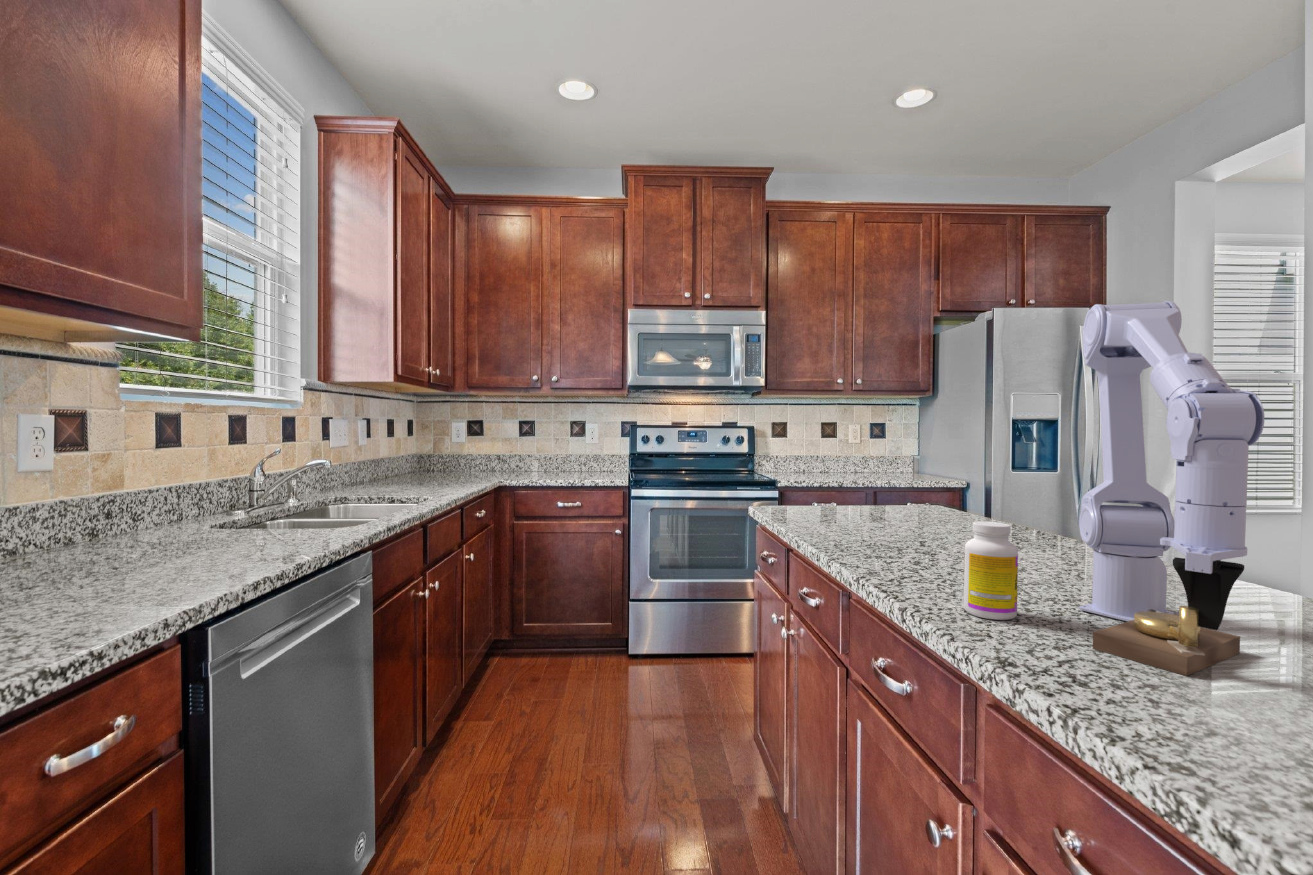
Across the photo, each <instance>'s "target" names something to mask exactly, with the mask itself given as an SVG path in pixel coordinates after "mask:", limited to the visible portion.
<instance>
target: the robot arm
mask: <svg viewBox="0 0 1313 875" xmlns="http://www.w3.org/2000/svg"><path fill="white" fill-rule="evenodd" d="M1182 320H1183V319H1182V313H1181V310H1180V307H1179V306H1178V305H1177V303H1175V302H1174V301H1172V300H1164V301H1163V302H1143V303H1142V302H1141V303H1123V304H1122V303H1120V304H1119V303H1118V304H1116V303H1115V304H1099V303H1096V304H1094V305H1093V306H1092V307H1091V308H1089V309H1088V311H1087V312H1086V315H1085V318H1084V322H1083V327H1082V345H1083V348H1082V349H1083V358H1084V362H1085V363H1084V364H1085V365H1086V367H1088V368H1091V369H1093V370H1094V371H1096V375H1097V382H1098V392H1099V393H1098V394H1099V412H1100V415H1099V416H1100V417H1099V418H1100V428H1101V429H1100V430H1101V431H1100V432H1101V434H1100V435H1101V450H1102V452H1101V453H1102V470H1103V472H1102V474H1103V482H1101V483H1100V484H1098V485H1097V486H1095V487H1093V488H1092V489H1090V490H1088V491H1087V492H1086V493H1085V494H1084V495H1083V496H1082V498H1081V502H1080V503H1081V504H1080V505H1081V506H1080V514H1079V519H1078V520H1079V521H1078V526H1079V527H1078V529H1079V534H1080V538H1081V540H1082V541H1083V542H1084V543H1085V544H1086V546H1087V547H1089V548H1090V549H1093V552H1092V553H1093V555H1092V590H1091V592H1092V594H1091V595H1092V596H1091V603H1090V602H1089V603H1087V604H1083V605H1079V606H1078V610H1080V611H1083V612H1088V613H1091V614H1096V615H1099V616H1104V617H1106V618H1107V617H1108V618H1112V619H1116V620H1121V621H1124V622H1128V621H1131V620H1134V613H1136V612H1143V611H1148V610H1149V609H1153V610H1155V611H1158V612H1162V613H1167V614H1173V615H1175V612H1174V611H1170V610H1167V588H1168V586H1167V584H1168V583H1167V582H1168V570H1167V567H1166V565H1165V563H1164V561H1163V560H1162V559H1161V558H1160V557H1164V552H1167V551H1168V550H1170V548H1173V549H1174V550H1175V551H1178V552H1179V553H1180V554H1182V555H1183V556H1185V557H1184V558H1183V557H1174V558H1173V559H1172V566H1173V568H1174V570H1175V572H1176V573H1177V575H1178V577H1179V579H1180V581H1181V583H1182V586H1183V588H1184V591H1185V596H1186V599H1187V600H1186V601H1187V606H1189V607H1194V608H1197V609H1199V621H1198V627H1202V628H1206V629H1210V630H1214V631H1219V629H1220V628H1219V627H1220V626H1221V624H1222V622H1223V620H1224V615H1225V611H1226V607H1227V602H1228V599H1229V596H1230V593H1231V590H1232V588H1233V586H1234V584H1235V582H1237V581H1238V578H1239V577H1240V576H1241V575H1242V574H1243V572H1244V571H1245V565H1244V564H1243V563H1238V562H1233V561H1224V560H1227V559H1235V558H1241V557H1245V556H1246V557H1247V555H1248V547H1247V546H1246V531H1247V530H1246V522H1247V502H1248V501H1247V500H1248V499H1247V498H1248V497H1247V496H1248V476H1249V475H1248V471H1249V470H1248V469H1249V446H1252V445H1254V444H1256V442H1258V440H1259V439H1260V437H1261V435H1262V433H1263V430H1264V428H1265V427H1264V426H1265V420H1266V419H1265V411H1264V410H1265V409H1264V407H1263V404H1262V401H1261V400H1260V399H1259V397H1258V395H1257V393H1255V392H1254V391H1250V390H1241V389H1240V388H1231V387H1230V386H1229V385H1228V383H1227V382H1226V381H1225V380H1224V378H1223V377H1222V376H1221V374H1220V373H1219V372H1218V371H1217V370H1216V368H1215V367H1214V366H1213V364H1212V363H1211V362H1210V361H1209V360H1208V359H1207V358H1206V357H1205V356H1204V355H1203V354H1202V353H1196V352H1189V351H1188V349H1187V348H1186V345H1185V344H1184V342H1183V340H1182V338H1181V337H1180V335H1179V334H1180V332H1181V328H1182ZM1151 367H1152V370H1151V371H1150V374H1149V375H1150V376H1149V381H1150V385H1151V386H1152V388H1153V389H1154V391H1155V392H1156V394H1157V396H1158V397H1159V398H1160V400H1161V402H1162V404H1163V405H1164V406H1165V408H1166V409H1167V416H1166V418H1165V424H1166V425H1165V426H1166V432H1167V435H1168V438H1169V441H1170V442H1169V443H1170V454H1171V459H1172V460H1175V461H1176V464H1175V465H1176V468H1175V471H1176V472H1175V495H1174V496H1175V501H1174V502H1175V503H1174V504H1175V506H1174V516H1173V513H1172V510H1171V504H1170V500H1169V497H1168V496H1167V495H1165V494H1164V493H1163V492H1162V491H1159V490H1158V489H1157V488H1155V487H1154V486H1152V485H1151V484H1149V483H1148V482H1147V469H1146V468H1147V467H1146V455H1145V454H1146V453H1145V452H1146V451H1145V436H1144V422H1143V420H1144V419H1143V403H1142V390H1141V389H1142V387H1141V374H1142V372H1143V370H1147V369H1148V368H1151ZM1103 503H1112V504H1103ZM1114 504H1115V505H1114ZM1118 504H1132V505H1118ZM1133 504H1134V505H1133ZM1135 504H1136V505H1135Z"/></svg>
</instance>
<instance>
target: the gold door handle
mask: <svg viewBox="0 0 1313 875" xmlns="http://www.w3.org/2000/svg"><path fill="white" fill-rule="evenodd" d="M1178 610H1179V611H1178V615H1177V614H1174V615H1173V614H1167V613H1160V612H1148V611H1143V612H1136V613H1134V628H1135V629H1137V630H1139V631H1141V632H1143V633H1146V634H1150V635H1153V636H1157V637H1162V638H1167V639H1173V640H1178V643H1179V644H1182V645H1185V646H1190V647H1197V646H1198V640H1199V639H1200V627H1198V621H1199V609H1197V608H1194V607H1189V606H1188V605H1179V608H1178Z"/></svg>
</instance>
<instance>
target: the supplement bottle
mask: <svg viewBox="0 0 1313 875" xmlns="http://www.w3.org/2000/svg"><path fill="white" fill-rule="evenodd" d="M1011 531H1012V530H1011V525H1010V524H1008V523H1004V522H999V521H997V522H996V521H983V520H980V521H979V520H978V521H977V520H976V521H974V522H973V521H972V532H973V538H970V539H968V541H966V542H965V545H964V563H963V564H964V566H963V567H964V572H963V576H964V577H963V609H964V610H965V611H966V612H967V613H968V614H970V615H972V616H974V617H976V618H977V617H978V618H982V619H986V620H987V619H988V620H996V621H1009V620H1013V619H1014V618H1016V616H1017V614H1018V580H1019V579H1018V578H1019V577H1018V574H1019V564H1018V563H1019V550H1018V548H1017V546H1016V545H1015V543H1013V542H1010V540H1009V537H1010V534H1011Z"/></svg>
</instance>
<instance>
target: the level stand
mask: <svg viewBox="0 0 1313 875" xmlns="http://www.w3.org/2000/svg"><path fill="white" fill-rule="evenodd" d="M1148 612H1158V611H1155V610H1153V609H1149V610H1148ZM1160 613H1162V612H1160ZM1092 649H1093V650H1095V651H1096V650H1097V651H1100V652H1102V653H1106V654H1110V655H1113V656H1117V657H1120V658H1124V659H1126V660H1130V661H1134V662H1138V663H1141V664H1144V665H1148V666H1150V667H1155V668H1157V669H1161V670H1165V671H1168V672H1171V673H1175V674H1177V675H1181V676H1185V677H1188V676H1191V675H1193V674H1195V673H1197V672H1200V671H1202V670H1204V669H1207V668H1209V667H1211V666H1214V665H1216V664H1218V663H1221V662H1222V661H1225V660H1228V659H1230V658H1232V657H1235V656H1237V655H1239V654H1241V652H1240V650H1241V636H1240V635H1235V634H1231V633H1227V632H1222V631H1219V630H1213V629H1208V628H1203V627H1200V639H1199V640H1198V646H1197V647H1190V646H1185V645H1182V644H1179V643H1178V640H1173V639H1167V638H1162V637H1157V636H1153V635H1150V634H1146V633H1143V632H1141V631H1139V630H1137V629H1135V628H1134V620H1131V621H1128V622H1127V621H1124V622H1122V623H1119V624H1116V625H1112V626H1109V627H1105V628H1102V629H1098V630H1096V631H1093V632H1092Z"/></svg>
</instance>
